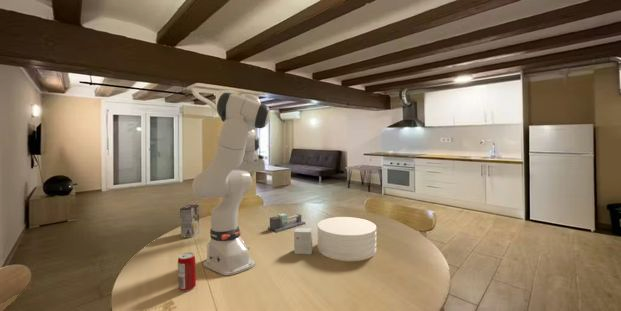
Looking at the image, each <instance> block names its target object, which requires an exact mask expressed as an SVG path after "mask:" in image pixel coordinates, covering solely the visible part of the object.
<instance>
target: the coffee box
mask: <svg viewBox="0 0 621 311" xmlns="http://www.w3.org/2000/svg"><path fill="white" fill-rule="evenodd" d="M179 210H180V211H179V213H180V237H181V236H185V237H192V238H193V236H194V235H195V236H196V235H197V234H199V233H200V232H201V231H200V230H201V229H200V214H199V213H200V208H199V204H187V205H185V206H183V207H181V208H179ZM199 231H200V232H199ZM198 232H199V233H198ZM195 236H194V237H195Z"/></svg>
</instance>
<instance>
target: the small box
mask: <svg viewBox="0 0 621 311" xmlns="http://www.w3.org/2000/svg"><path fill="white" fill-rule="evenodd" d="M293 233H294V234H293V238H294V239H293V241H294V244H293V246H294V248H293V250H294V255H312V254H313V253H312V252H313V227H312V228H310V227H309V228H308V227H295V229H294V232H293Z"/></svg>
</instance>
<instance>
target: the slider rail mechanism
mask: <svg viewBox="0 0 621 311" xmlns="http://www.w3.org/2000/svg"><path fill="white" fill-rule="evenodd" d="M280 224H281V219H280V218H279V217H278V216H271V217H269V226H268V227H267V229H268V230H270V231H273V232H275V233H279V232H283V231H286V229H287V230H290V229H293V228H297V227H299V226H303V224H304V225H306V222H305V221H302V214H299V213H298V214H296V215H293V216H289V217H288V216H287V224H285V225H280ZM296 226H297V227H296Z"/></svg>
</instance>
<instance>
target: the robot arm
mask: <svg viewBox="0 0 621 311" xmlns="http://www.w3.org/2000/svg"><path fill="white" fill-rule="evenodd" d="M216 111H217V114H218V116H219V117H220V119H221V121H222V122H223V124H222V125H221V126H222V127H221V130H220V132H219V136H218V141H217V146H216V149H215V153H214V154H215V155H214V157H213V159H212V160H211V162H210V164H208V166H207V167H206V168H205V169H204V170H203V171H202V172H200V173H199V174H196V176H195V177H194V179H193V180H192V185H191V189H192V191H193V194H194V196H196V197H197V198H200V199H216V198H222V199H221V200H220V202H219V203H218V204H217V205H215V206H214V207H213V208H212V210H211V211H210V212H211V213H210V221H211V222H210V223H211V224H210V225H211V226H210V227H211V228H210V231H209V234H210V236H209V237H210V240H209V242H208V244H207V246H206V247H207V248H206V249H207V250H206V261H204V262H203V267H205V268H207V269H210V270H212V271H214V272H216V273H219V274H221V275H223V276H231V275H236V274H239V273H242V272H245V271H247V270H249V269H251V268H253V267H254V266H255V265H256V262H255V260H254V259H253V258H252V257H251V256H250V252H249V251H250V246H249V245H246V243H245V240H243V238H242V236H241V230H240V227H239V224H238V222H239V208H240V204H241V202H242V200H243V199H244V197H245V195H246V194H247V193H248V192H249V191H250V189H251V188H252V186H253V176H254V175H255V173H256V172H257V173H258V172H264V171H265V170H266V163H265V160H264V159H265V156H264V155H261V154H259V153H257V151H258V150H259V149H260V138H259V137H258V136H257V135H256V131H255V130H256V129H263V128H265V127H266V125H268V123H269V122H270V119H271V109H270V107H269V105H267V104H265V103H262V102H261V100H260V98H259V97H258V96H256V95H254V94H251V93H249V94H245V95H243V96H242V95H239V94H234V93H231V92H223V93H222V94H221V95H220V96H219V98H218V99H217V102H216Z"/></svg>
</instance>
